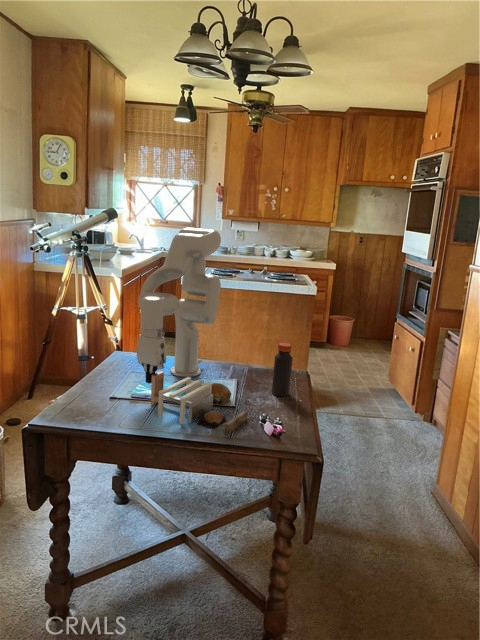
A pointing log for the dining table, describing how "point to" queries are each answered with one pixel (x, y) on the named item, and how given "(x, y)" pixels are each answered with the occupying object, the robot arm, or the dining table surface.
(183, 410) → the white slatted rack
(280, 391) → the bottle
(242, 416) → the bar
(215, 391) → the bread roll
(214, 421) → the bread roll
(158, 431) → the dining table surface
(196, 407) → the rod with wooden block
